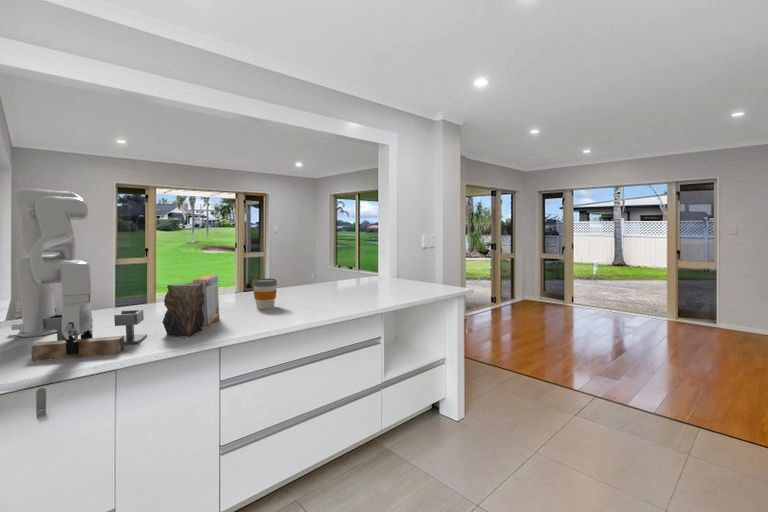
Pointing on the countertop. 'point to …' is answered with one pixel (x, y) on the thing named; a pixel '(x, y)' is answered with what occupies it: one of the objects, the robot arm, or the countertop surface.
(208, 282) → the cracker box
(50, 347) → the rail
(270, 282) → the reusable coffee cup
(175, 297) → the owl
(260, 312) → the countertop surface
